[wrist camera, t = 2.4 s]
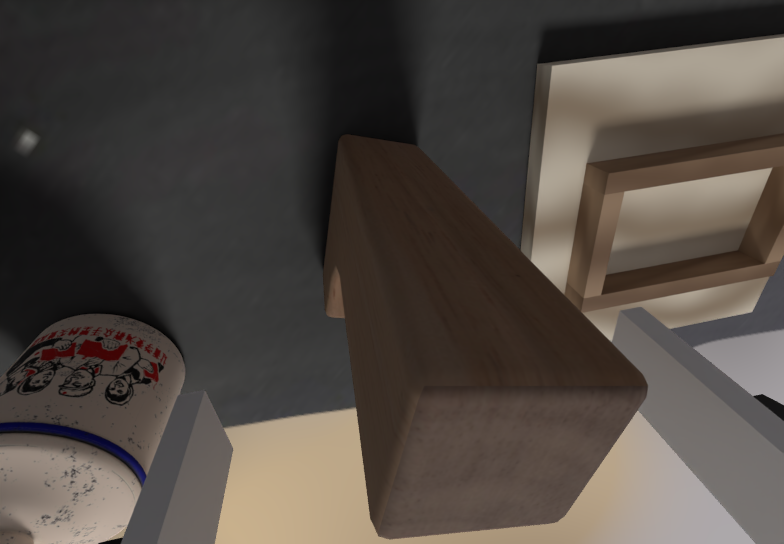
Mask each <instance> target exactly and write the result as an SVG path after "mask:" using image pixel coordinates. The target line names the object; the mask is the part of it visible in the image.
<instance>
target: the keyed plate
mask: <svg viewBox="0 0 784 544" xmlns="http://www.w3.org/2000/svg"><path fill="white" fill-rule="evenodd" d="M521 251H522V252H523V253H524V255H525V256H526V257H527V258H528V259H529V260H530V261H531V262H532V263H533V264H534V265H535V266H536V267H537V268H538V269H539V270H540V271H541V272H542V273H543V274H544V275H545V276H546V277H547V278H548V279H549V280H550V281H551V282H552V283H553V284H554V285H555V286H556V287H557V288H558V289H559V290H560V291H561V292H562V293H563V294H564V295H565V296H566V297H567V298H568V299H569V300H570V301H571V302H572V303H573V304H574V305H575V306H576V307H577V308H578V309H579V310H580V311H581V312H582V313H583V314H584V315H585V316H586V317H587V318H588V319H589V320H590V321H591V322H592V323H593V324H594V325H595V326H596V327H597V328H598V329H599V330H600V331H601V332H602V333H603V334H604V335H605V336H606V337H607V338H608V339H609V340H610V341H612V339H613V335H614V331H615V327H616V323H617V319H618V315H619V311H621V310H626V309H631V308H636V307H642V308H644V309H645V310H646V311H647V312H649V313H650V314H651V315H652V316H654V317H655V318H656V319H657V320H659V321H660V322H661V323H662V324H664V325H665V326H666V327H667V328H669V329H671V328H676V327H681V326H686V325H691V324H695V323H700V322H705V321H710V320H715V319H720V318H725V317H730V316H735V315H739V314H744V313H749V312H752V311H753V309H754V307H755V305H756V303H757V301H758V299H759V297H760V295H761V293H762V291H763V288H764V286H765V284H766V282H767V280H768V278H769V276H773V275H774V273H775V271H776V269H777V267H778V265H779V263H780V261H781V259H782V257H783V255H784V34H779V35H771V36H762V37H754V38H746V39H738V40H730V41H722V42H713V43H705V44H697V45H689V46H681V47H673V48H665V49H656V50H648V51H640V52H632V53H624V54H616V55H607V56H599V57H591V58H583V59H575V60H567V61H558V62H550V63H542V64H537V74H536V85H535V96H534V107H533V118H532V129H531V140H530V151H529V162H528V173H527V184H526V196H525V207H524V218H523V229H522V240H521Z"/></svg>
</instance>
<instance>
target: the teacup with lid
mask: <svg viewBox="0 0 784 544" xmlns="http://www.w3.org/2000/svg"><path fill="white" fill-rule="evenodd" d="M184 378H185V365H184V361H183V358H182V356H181V354H180V352H179V350H178V349H177V347H176V346H175V345H174V344H173V343H172V341H171V340H169V339H168V338H167V337H166V336H165V335H164V334H162V333H161V332H160V331H158V330H156V329H155V328H153V327H151V326H149V325H147V324H145V323H143V322H140V321H138V320H135V319H131V318H128V317H124V316H119V315H112V314H84V315H78V316H73V317H70V318H66V319H63V320H61V321H58V322H56V323H54V324H52V325H51V326H49V327H48V328H46V329H45V330H44V331H43V332H42V333H40V334H39V335H38V337H37V338H36V339H35V340H34V341H33V342H32V343H31V344H30V345H29V347H28V348H27V349H26V350H25V351H24V352H23V353H22V354H21V355H20V356H19V358H18V359H17V360H16V361H15V362H14V363H13V364H12V365H11V366H10V368H9V369H8V370H7V371H6V372H5V373H4V374H3V375H2V376H1V377H0V544H98V543H101V542H103V541H106V540H107V539H109V538H111V537H113V536H115V535H116V534H118V533H119V532H120V531H122V530H123V529H124V528H125V527H126V526H128V523H129V521H130V518H131V516H132V513H133V510H134V508H135V505H136V503H137V500H138V497H139V495H140V492H141V490H142V487H143V484H144V482H145V479H146V477H147V474H148V471H149V469H150V466H151V464H152V461H153V458H154V456H155V453H156V451H157V448H158V445H159V443H160V440H161V438H162V435H163V432H164V430H165V427H166V425H167V422H168V419H169V417H170V414H171V412H172V409H173V406H174V404H175V401H176V399H177V396H178V395H179V394H180V391H181V388H182V386H183V383H184Z"/></svg>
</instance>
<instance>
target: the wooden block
mask: <svg viewBox="0 0 784 544" xmlns="http://www.w3.org/2000/svg"><path fill="white" fill-rule="evenodd" d="M323 284H324V301H325V311H326V314H327V315H328V316H330V317H336V318H345V323H346V330H347V338H348V346H349V354H350V362H351V370H352V378H353V386H354V393H355V401H356V409H357V417H358V425H359V433H360V440H361V448H362V456H363V464H364V472H365V480H366V488H367V496H368V504H369V511H370V519H371V521H372V523H373V525H374V527H375V529H376V532H377V534H378V536H379V537H383V538H386V539H399V538H409V537H419V536H428V535H439V534H449V533H460V532H470V531H480V530H490V529H499V528H509V527H520V526H530V525H540V524H549V523H555V522H558V521H559V520H560V519H561V518H563V517H564V516H565V515H566V513H567V512H568V511H569V509H570V508H571V506H572V505H573V503H574V502H575V500H576V499H577V497H578V496H579V495H580V493H581V492H582V490H583V489H584V487H585V486H586V484H587V483H588V481H589V480H590V479H591V477H592V476H593V474H594V473H595V471H596V470H597V468H598V467H599V466H600V464H601V463H602V461H603V460H604V458H605V457H606V455H607V454H608V452H609V451H610V450H611V448H612V447H613V445H614V444H615V442H616V441H617V439H618V438H619V436H620V435H621V434H622V432H623V431H624V429H625V428H626V426H627V425H628V423H629V422H630V420H631V419H632V417H633V416H634V415H635V413H636V412H637V410H638V409H639V407H640V406H641V405H642V403H643V402H644V400H645V399H646V397H647V391H648V384H647V382H646V380H645V378H644V376H643V374H642V373H641V372H640V371H639V370H638V369H637V368H636V367H635V366H634V365H633V364H632V363H631V362H630V361H629V360H628V359H627V358H626V357H625V356H624V355H623V354H622V353H621V352H620V351H619V350H618V349H617V348H616V347H615V346H614V345H613V344H612V343H611V342H610V340H609V339H608V338H607V337H606V336H605V335H604V334H603V333H602V332H601V331H600V330H599V329H598V328H597V327H596V326H595V325H594V324H593V323H592V322H591V321H590V320H589V319H588V318H587V317H586V316H585V315H584V314H583V313H582V312H581V311H580V310H579V309H578V308H577V307H576V306H575V305H574V304H573V303H572V302H571V301H570V300H569V299H568V298H567V297H566V296H565V295H564V294H563V293H562V292H561V291H560V290H559V289H558V288H557V287H556V286H555V285H554V284H553V283H552V282H551V281H550V280H549V279H548V278H547V277H546V276H545V275H544V274H543V273H542V272H541V271H540V270H539V269H538V268H537V267H536V266H535V265H534V264H533V263H532V262H531V261H530V260H529V259H528V258H527V257H526V256H525V255H524V253H523V252H522V251H521V250H520V249H519V248H518V247H517V246H516V245H515V244H514V243H513V242H512V241H511V240H510V239H509V238H508V237H507V236H506V235H505V234H504V233H503V232H502V231H501V230H500V229H499V228H498V227H497V226H496V225H495V224H494V223H493V222H492V221H491V220H490V219H489V218H488V217H487V216H486V215H485V214H484V213H483V212H482V211H481V210H480V209H479V208H478V207H477V206H476V205H475V204H474V203H473V202H472V201H471V200H470V199H469V198H468V197H467V196H466V195H465V194H464V193H463V192H462V191H461V190H460V189H459V188H458V187H457V186H456V185H455V184H454V183H453V182H452V181H451V180H450V179H449V177H448V176H447V175H446V174H445V173H444V172H443V171H442V170H441V169H440V168H439V167H438V166H437V165H436V164H435V163H434V162H433V161H432V160H431V159H430V158H429V157H428V156H427V155H426V154H425V153H424V152H423V151H422V150H421V149H420V148H419V147H417V146H416V145H413V144H406V143H400V142H394V141H387V140H381V139H374V138H368V137H362V136H355V135H349V134H346V135H342V136H341V137H340V139H339V141H338V149H337V158H336V167H335V175H334V184H333V192H332V201H331V210H330V218H329V227H328V236H327V244H326V253H325V262H324V270H323Z"/></svg>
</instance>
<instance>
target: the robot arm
mask: <svg viewBox="0 0 784 544" xmlns="http://www.w3.org/2000/svg"><path fill="white" fill-rule="evenodd" d="M612 344H613V345H614V346H615V347H616V348H617V349H618V350H619V351H620V352H621V353H622V354H623V355H624V356H625V357H626V358H627V359H628V360H629V361H630V362H631V363H632V364H633V365H634V366H635V367H636V368H637V369H638V370H639V371H640V372H641V373H642V374H643V376H644V378H645V380H646V382H647V384H648V391H647V397H646V399H645V400H644V402H643V403H642V405H641V406H640V407H639V409H638V411H639V412H640V413H641V414H642V415H643V416H644V418H645V419H646V420H647V421H648V422H649V423H650V424H651V425H652V427H653V428H654V429H655V430H656V431H657V432H658V433H659V435H660V436H661V437H662V438H663V439H664V440H665V441H666V442H667V444H668V445H669V446H670V447H671V448H672V449H673V450H674V451H675V453H677V455H678V456H679V457H680V458H681V459H682V461H683V462H684V463H685V464H686V465H687V466H688V467H689V468H690V470H691V471H692V472H693V473H694V474H695V475H696V476H697V478H698V479H699V480H700V481H701V482H702V483H703V484H704V485H705V487H706V488H707V489H708V490H709V491H710V492H711V493H712V494H713V496H714V497H715V498H716V499H717V500H718V501H719V502H720V504H721V505H722V506H723V507H724V508H725V509H726V510H727V512H728V513H729V514H730V515H731V516H732V517H733V518H734V519H735V521H736V522H737V523H738V524H739V525H740V526H741V527H742V529H743V530H744V531H745V532H746V533H747V534H748V535H749V536H750V538H751V539H752V540H753V541H754V542H755V543H756V544H784V405H782V404H780V403H778V402H777V401H775V400H773V399H771V398H769V397H767V396H765V395H763V394H761V395H756V396H752V395H751V394H749V393H748V392H747V391H746V390H744V389H743V388H742V387H741V386H739V385H738V384H737V383H736V382H734V381H733V380H732V379H731V378H730V377H728V376H727V375H726V374H725V373H723V372H722V371H721V370H719V369H718V368H717V367H716V366H715V365H713V364H712V363H711V362H709V361H708V360H707V359H706V358H705V357H703V356H702V355H701V354H700V353H698V352H697V351H696V350H695V349H693V348H692V347H691V346H690V345H688V344H687V343H686V342H685V341H684V340H682V339H681V338H680V337H679V336H677V335H676V334H675V333H674V332H672V331H671V330H670V329H669V328H667V327H666V326H665V325H664V324H662V323H661V322H660V321H659V320H657V319H656V318H655V317H654V316H652V315H651V314H650V313H649V312H647V311H646V310H645V309H644V308H642V307H636V308H631V309H626V310H621V311H619V315H618V319H617V323H616V327H615V331H614V335H613V339H612ZM232 452H233V447H232V445H231V443H230V441H229V439H228V437H227V435H226V433H225V431H224V429H223V426H222V424H221V422H220V420H219V418H218V416H217V414H216V412H215V410H214V408H213V406H212V404H211V402H210V400H209V397H208V395H207V393H206V391H205V390H202V391H197V392H192V393H187V394H181V395H178V396H177V399H176V401H175V404H174V406H173V409H172V412H171V414H170V417H169V419H168V422H167V425H166V427H165V430H164V432H163V435H162V438H161V440H160V443H159V445H158V448H157V451H156V453H155V456H154V458H153V461H152V464H151V466H150V469H149V471H148V474H147V477H146V479H145V482H144V484H143V487H142V490H141V492H140V495H139V497H138V500H137V503H136V505H135V508H134V510H133V513H132V516H131V518H130V521H129V523H128V526H127V529H126V532H125V534H124V537H123V538H119V539H114V540H110V541H105V542H101V543H98V544H215V539H216V533H217V528H218V523H219V518H220V513H221V508H222V503H223V498H224V493H225V488H226V483H227V477H228V472H229V468H230V462H231V457H232Z"/></svg>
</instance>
